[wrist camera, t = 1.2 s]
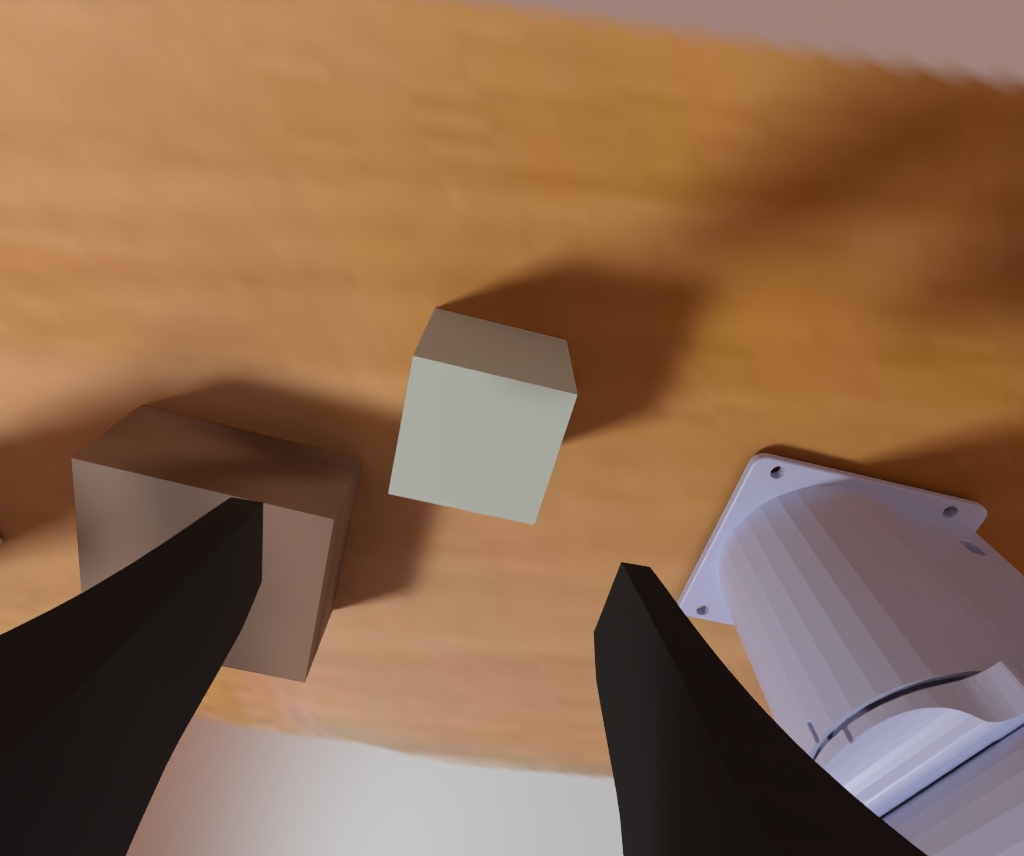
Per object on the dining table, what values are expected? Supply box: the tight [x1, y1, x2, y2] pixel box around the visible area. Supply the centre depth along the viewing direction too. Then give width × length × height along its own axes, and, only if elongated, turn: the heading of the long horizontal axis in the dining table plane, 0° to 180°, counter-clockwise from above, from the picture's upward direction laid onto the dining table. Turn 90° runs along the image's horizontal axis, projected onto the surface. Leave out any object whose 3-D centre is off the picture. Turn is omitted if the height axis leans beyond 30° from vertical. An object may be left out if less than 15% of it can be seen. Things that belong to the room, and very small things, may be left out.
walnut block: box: [71, 405, 362, 682], centre depth 22 cm, size 8×8×4 cm
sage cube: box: [388, 308, 578, 525], centre depth 19 cm, size 4×4×4 cm
